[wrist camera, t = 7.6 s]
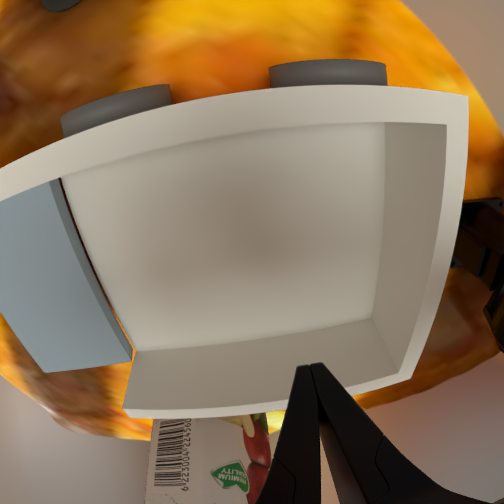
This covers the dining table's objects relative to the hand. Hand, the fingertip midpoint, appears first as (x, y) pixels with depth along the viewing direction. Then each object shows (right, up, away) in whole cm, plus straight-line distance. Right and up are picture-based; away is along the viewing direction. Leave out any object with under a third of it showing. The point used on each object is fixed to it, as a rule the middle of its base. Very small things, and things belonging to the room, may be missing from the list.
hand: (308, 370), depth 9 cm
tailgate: (-11, +2, +7) cm, 13 cm away
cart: (-2, +6, +11) cm, 13 cm away
